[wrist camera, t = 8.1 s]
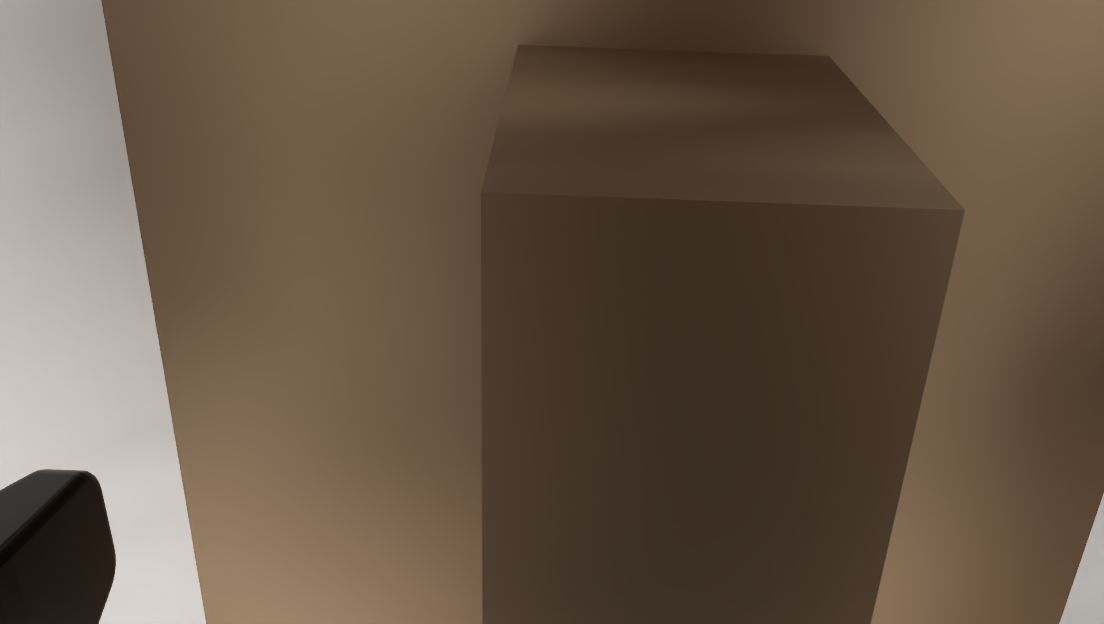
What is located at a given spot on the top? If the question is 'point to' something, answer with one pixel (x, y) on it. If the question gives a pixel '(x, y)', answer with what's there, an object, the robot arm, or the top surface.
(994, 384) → the ridged wooden block
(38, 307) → the top surface
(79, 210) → the top surface
